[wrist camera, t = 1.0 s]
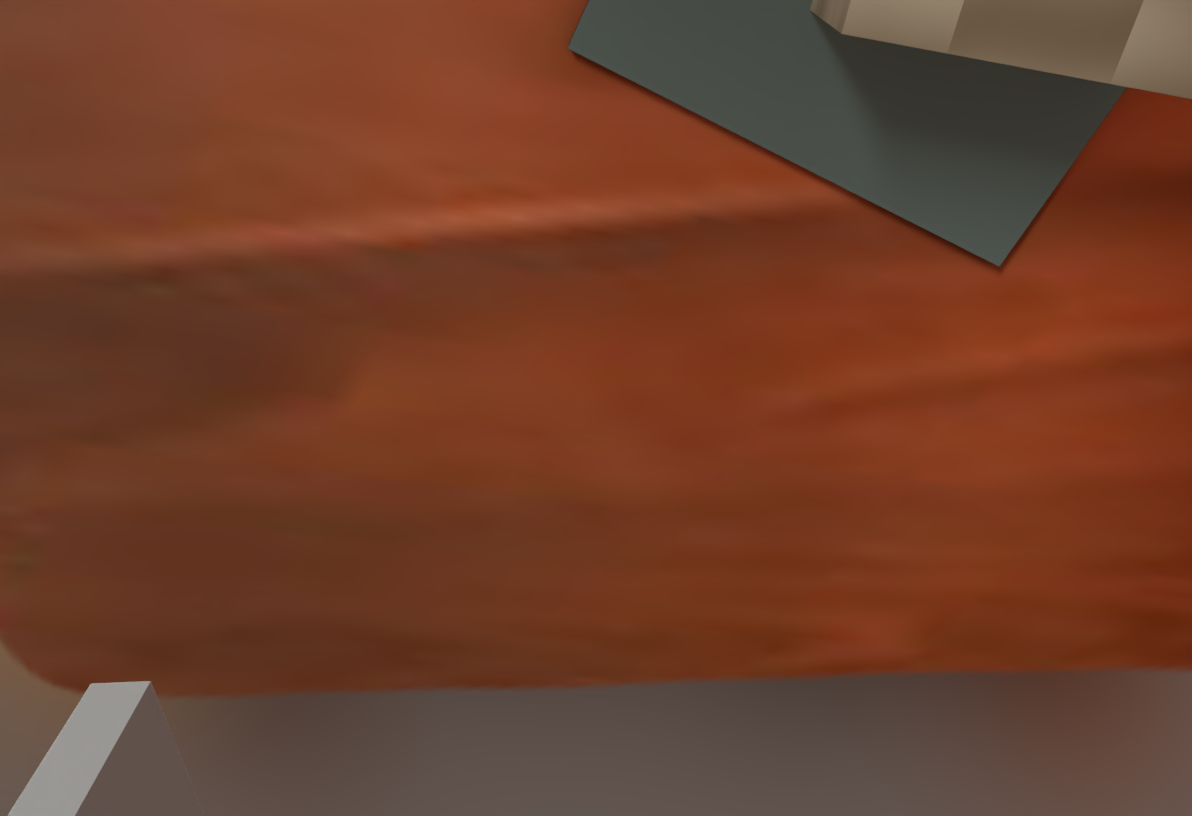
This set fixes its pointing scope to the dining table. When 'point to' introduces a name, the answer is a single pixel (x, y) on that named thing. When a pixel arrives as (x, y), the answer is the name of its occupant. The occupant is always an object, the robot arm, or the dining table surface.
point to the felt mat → (862, 108)
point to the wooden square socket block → (1039, 35)
